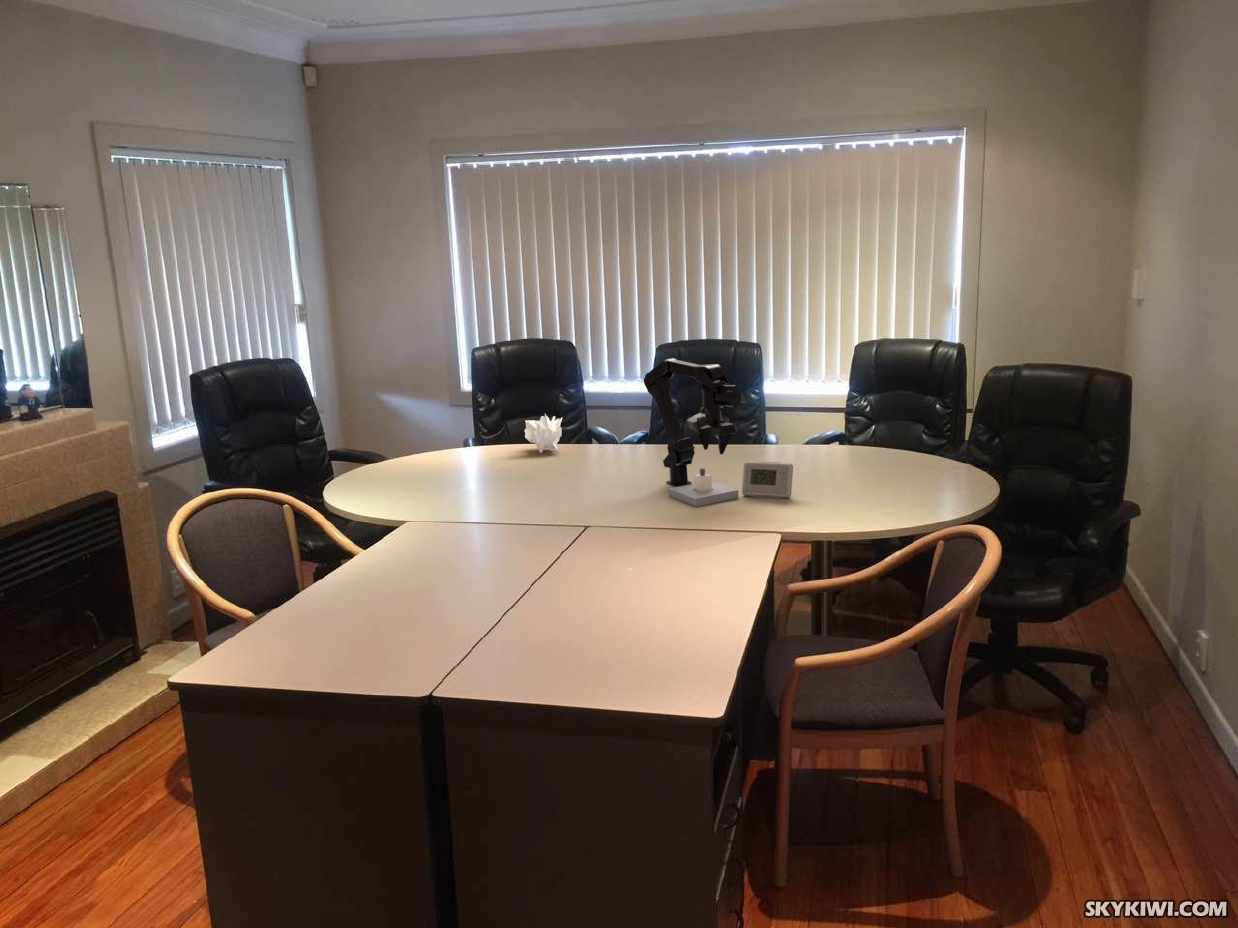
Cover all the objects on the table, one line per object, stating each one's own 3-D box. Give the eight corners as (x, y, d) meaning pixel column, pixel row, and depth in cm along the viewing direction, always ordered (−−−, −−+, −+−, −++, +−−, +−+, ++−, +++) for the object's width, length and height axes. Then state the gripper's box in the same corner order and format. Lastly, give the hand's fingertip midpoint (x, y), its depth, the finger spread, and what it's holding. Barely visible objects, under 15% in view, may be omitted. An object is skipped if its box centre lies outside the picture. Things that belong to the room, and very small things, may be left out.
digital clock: (739, 496, 327) (738, 463, 324) (752, 489, 334) (751, 457, 331) (785, 502, 317) (784, 468, 315) (798, 495, 325) (797, 462, 322)
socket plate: (669, 496, 332) (668, 488, 331) (710, 487, 339) (710, 480, 338) (695, 506, 318) (695, 498, 317) (738, 497, 325) (738, 490, 324)
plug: (694, 495, 329) (693, 468, 327) (705, 493, 331) (704, 466, 329) (701, 498, 326) (700, 471, 324) (712, 496, 327) (711, 469, 325)
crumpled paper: (576, 418, 407) (546, 399, 399) (562, 456, 401) (532, 438, 393) (549, 425, 423) (520, 408, 415) (535, 462, 416) (506, 445, 409)
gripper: (675, 404, 333) (677, 451, 336) (706, 411, 317) (708, 460, 320) (704, 399, 338) (705, 445, 341) (736, 406, 322) (738, 455, 325)
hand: (713, 451), depth 332 cm, fingers open, 9 cm apart
